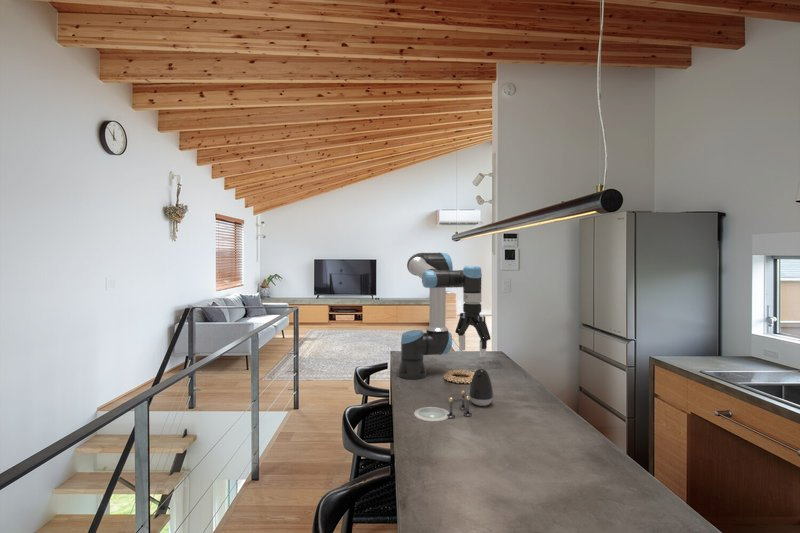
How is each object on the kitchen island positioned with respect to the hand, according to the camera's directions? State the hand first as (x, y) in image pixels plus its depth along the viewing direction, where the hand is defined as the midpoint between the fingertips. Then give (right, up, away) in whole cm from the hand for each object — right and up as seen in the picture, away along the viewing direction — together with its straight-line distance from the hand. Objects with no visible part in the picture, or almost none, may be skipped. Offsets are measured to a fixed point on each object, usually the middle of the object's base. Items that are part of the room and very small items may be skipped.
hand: (472, 353), depth 178 cm
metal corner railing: (-7, -23, -7) cm, 25 cm away
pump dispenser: (+4, -23, +3) cm, 23 cm away
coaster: (-18, -23, -9) cm, 30 cm away
